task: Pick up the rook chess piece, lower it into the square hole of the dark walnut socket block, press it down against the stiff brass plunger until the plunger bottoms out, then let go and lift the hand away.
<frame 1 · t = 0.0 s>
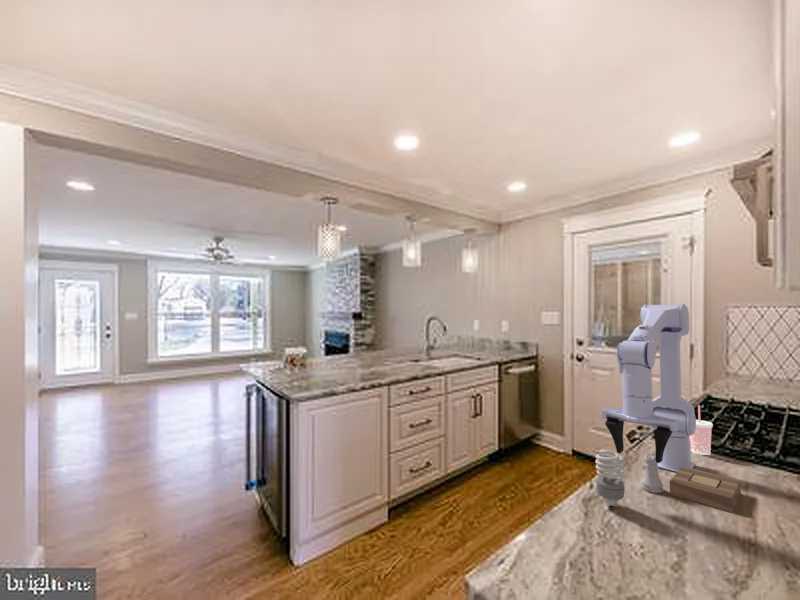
hand: (638, 456, 86), 10 cm above the countertop, tool pointing down, fingers open, 7 cm apart
brass plunger: (704, 482, 89), point 3 cm above the countertop, slide at 2.0 cm
beverage cup: (700, 453, 114), on the countertop
socket block: (705, 493, 89), on the countertop
rook chess piece: (652, 490, 92), on the countertop
light bulb: (610, 506, 85), on the countertop
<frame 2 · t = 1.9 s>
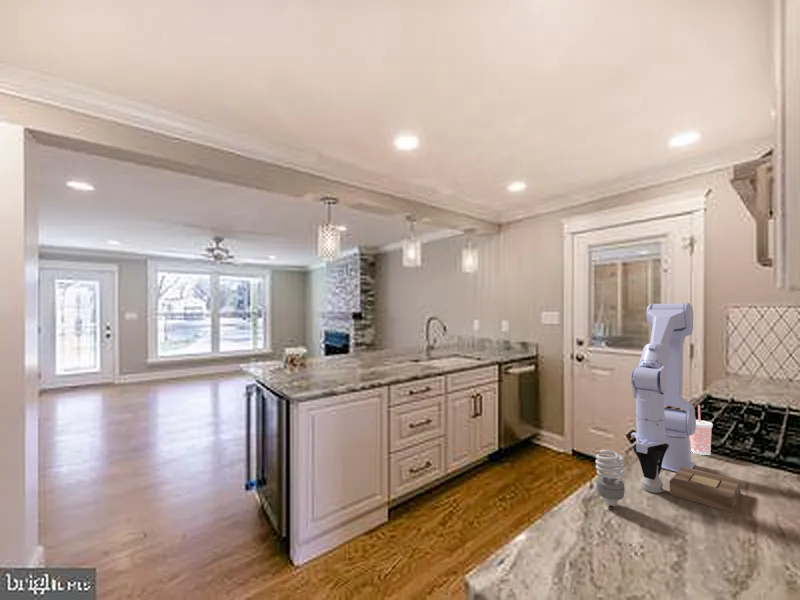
hand: (652, 475, 92), 3 cm above the countertop, tool pointing down, fingers closed on rook chess piece, 3 cm apart
rook chess piece: (652, 490, 92), on the countertop, touching gripper
everything else where it was.
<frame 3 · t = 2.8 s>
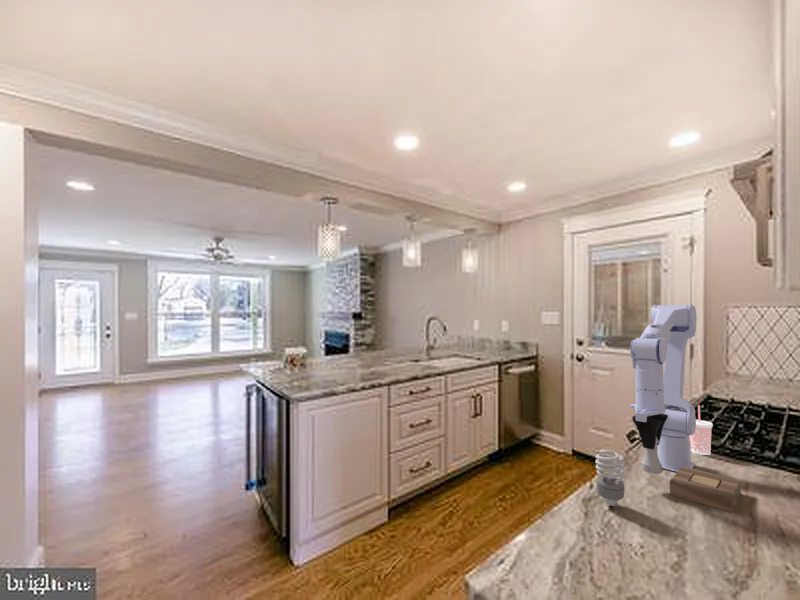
hand: (651, 446, 92), 10 cm above the countertop, tool pointing down, fingers closed on rook chess piece, 3 cm apart
rook chess piece: (651, 471, 92), point 4 cm above the countertop, touching gripper
everything else where it was.
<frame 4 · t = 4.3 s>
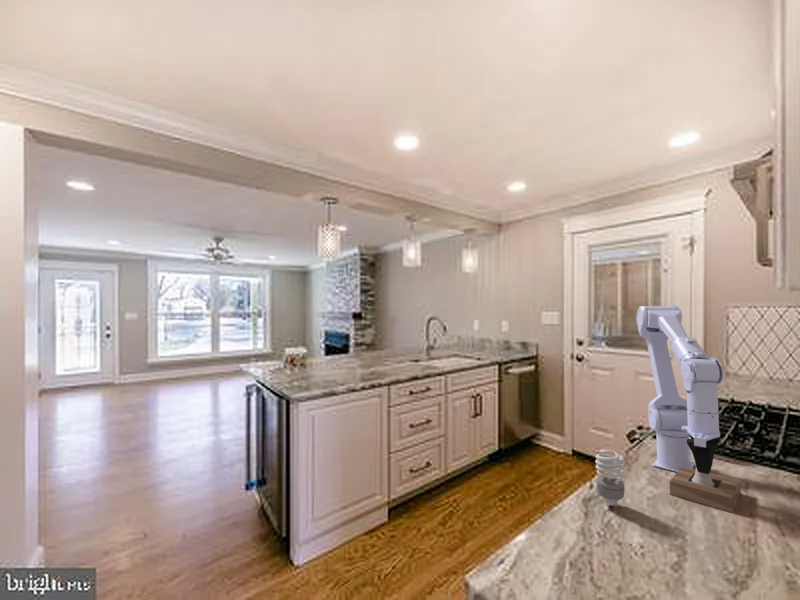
hand: (704, 470, 90), 5 cm above the countertop, tool pointing down, fingers closed on rook chess piece, 3 cm apart
brass plunger: (705, 492, 89), resting in socket block, slide at -0.1 cm, touching rook chess piece
rook chess piece: (703, 490, 90), point 1 cm above the countertop, touching brass plunger, gripper
everything else where it was.
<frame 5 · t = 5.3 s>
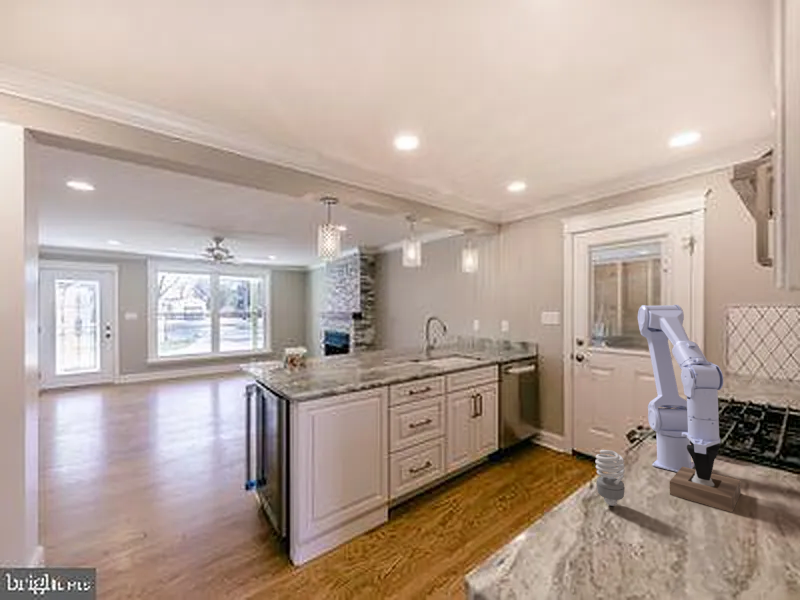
hand: (704, 476, 90), 4 cm above the countertop, tool pointing down, fingers closed on rook chess piece, 3 cm apart
rook chess piece: (703, 490, 90), point 1 cm above the countertop, touching brass plunger, gripper
everything else where it was.
when the fingers open (4 cm above the countertop, at t = 5.8 s): rook chess piece stays where it is, resting on brass plunger.
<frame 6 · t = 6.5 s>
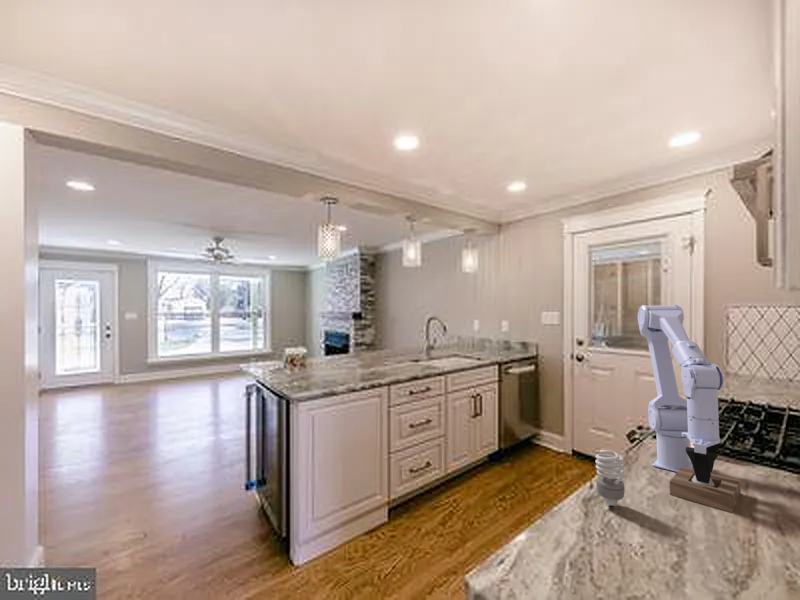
hand: (704, 476, 90), 4 cm above the countertop, tool pointing down, fingers open, 7 cm apart
rook chess piece: (703, 490, 90), point 1 cm above the countertop, touching brass plunger
everything else where it was.
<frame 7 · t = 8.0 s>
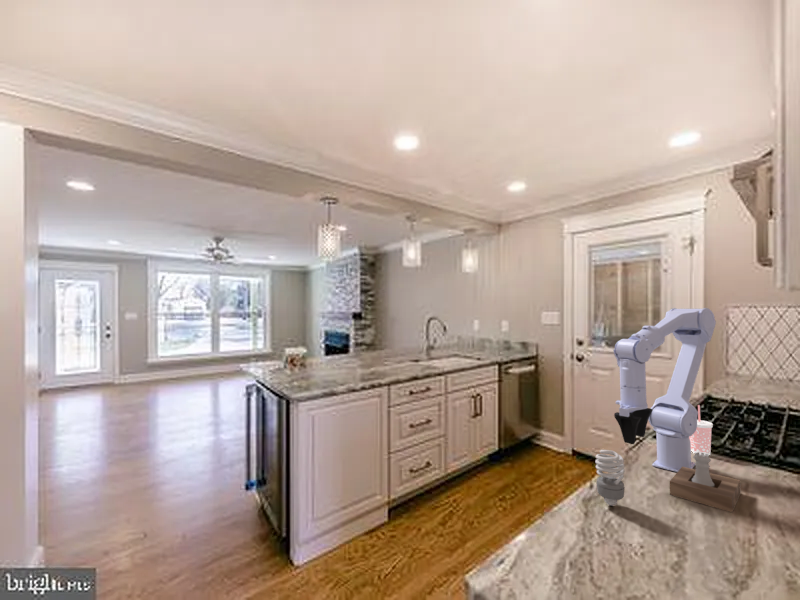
hand: (634, 439, 99), 9 cm above the countertop, tool pointing down, fingers open, 7 cm apart
nothing on the countertop moved.
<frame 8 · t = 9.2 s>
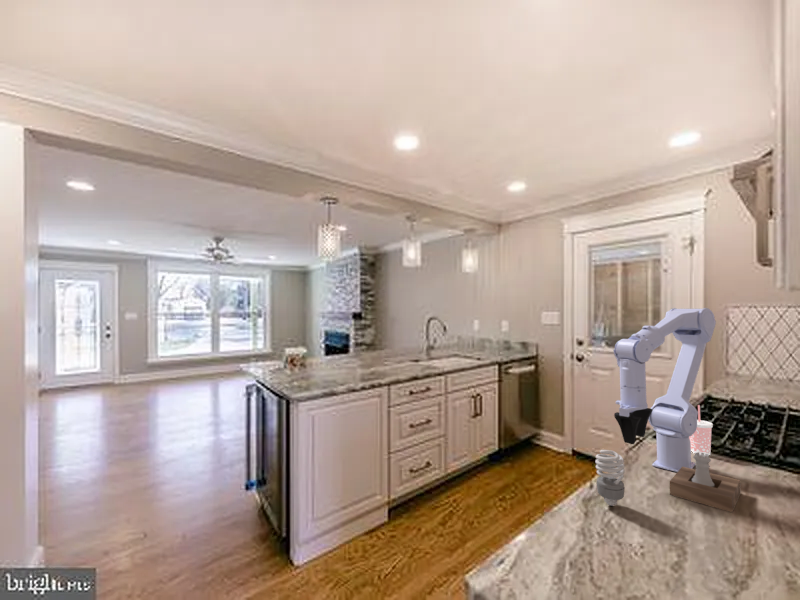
hand: (634, 439, 99), 9 cm above the countertop, tool pointing down, fingers open, 7 cm apart
nothing on the countertop moved.
at the end: brass plunger slide at -0.1 cm; rook chess piece 0.4 cm off-centre on the socket block, point 0.7 cm above the socket block's base; rook chess piece tilted 0° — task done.
